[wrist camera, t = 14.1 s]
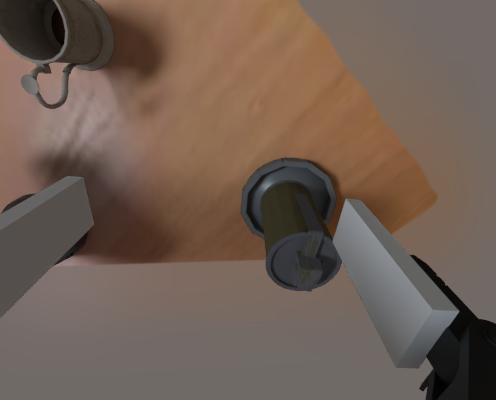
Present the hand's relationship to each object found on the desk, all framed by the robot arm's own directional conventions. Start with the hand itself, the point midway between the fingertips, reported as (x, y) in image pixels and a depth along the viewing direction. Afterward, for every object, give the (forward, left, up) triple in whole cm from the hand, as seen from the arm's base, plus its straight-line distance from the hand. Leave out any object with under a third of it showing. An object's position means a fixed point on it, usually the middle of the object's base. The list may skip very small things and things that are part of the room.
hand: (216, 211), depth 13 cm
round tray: (+11, -16, -33) cm, 38 cm away
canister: (+11, -16, -32) cm, 38 cm away
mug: (-24, +7, -33) cm, 41 cm away
